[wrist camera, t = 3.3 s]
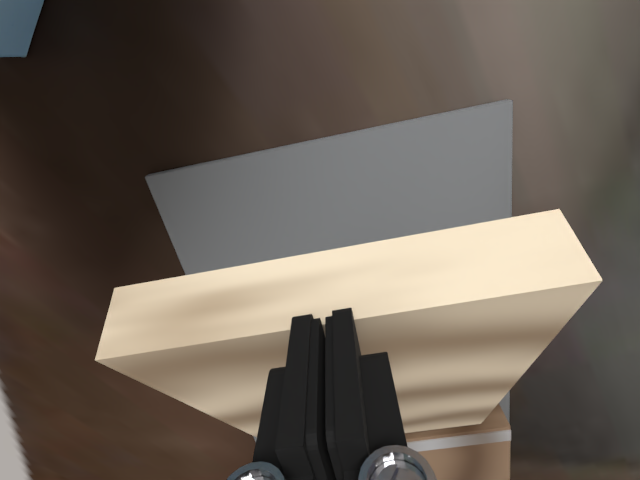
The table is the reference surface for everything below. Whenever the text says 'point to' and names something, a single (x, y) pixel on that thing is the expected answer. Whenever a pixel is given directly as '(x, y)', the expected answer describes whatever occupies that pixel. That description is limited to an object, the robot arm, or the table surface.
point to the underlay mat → (341, 190)
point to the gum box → (17, 26)
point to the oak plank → (363, 318)
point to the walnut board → (467, 449)
